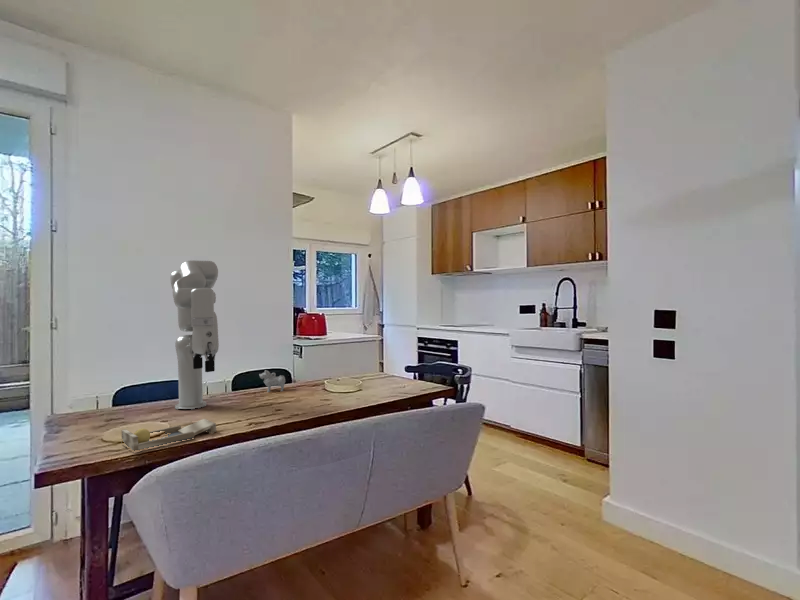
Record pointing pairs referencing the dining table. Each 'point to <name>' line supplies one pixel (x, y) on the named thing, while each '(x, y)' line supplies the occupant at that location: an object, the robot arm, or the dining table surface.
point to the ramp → (199, 427)
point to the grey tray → (132, 440)
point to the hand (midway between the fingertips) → (203, 370)
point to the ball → (142, 435)
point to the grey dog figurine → (272, 380)
